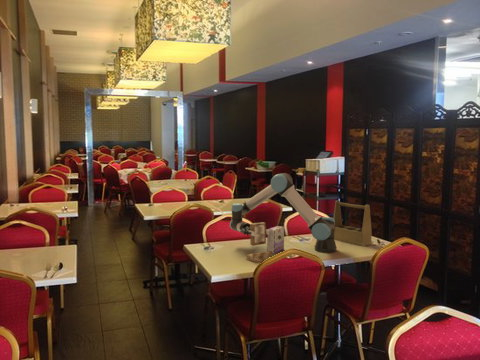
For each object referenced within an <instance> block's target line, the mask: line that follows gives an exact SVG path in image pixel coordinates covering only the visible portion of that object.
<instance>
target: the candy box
mask: <svg viewBox="0 0 480 360" xmlns="http://www.w3.org/2000/svg"><path fill="white" fill-rule="evenodd" d="M266 230H269V234H266V248H267V249H266V252H269V251H272V255H274V254H275V255H276V254H277V253H279V252H281V251H284V250H285V227H284V226H278V225H276V226H274V227H270V228H268V229H267V228H266Z"/></svg>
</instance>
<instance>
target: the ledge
mask: <svg viewBox="0 0 480 360" xmlns="http://www.w3.org/2000/svg"><path fill="white" fill-rule="evenodd" d="M269 257H272V258H273V254H272V251H269V252H267V251H262V252H261V251H260V252H256V253H248V254H246V260H248V261H251V262H252V263H256V262H258V263H259V262H262V261H263V260H264V261H266V260H265V259H268V258H269Z"/></svg>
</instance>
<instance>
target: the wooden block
mask: <svg viewBox="0 0 480 360" xmlns="http://www.w3.org/2000/svg"><path fill="white" fill-rule="evenodd" d="M266 223H267V222H263V221H262V222H253V223H249V224H250V231H253V232H255V236H252V235H249V236H250V239H249V240H250V242H249V243H250V244H249V245H250V246H253V247H254V246H260V245H267V234H266V230H267V224H266Z"/></svg>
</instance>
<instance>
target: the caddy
mask: <svg viewBox="0 0 480 360" xmlns="http://www.w3.org/2000/svg"><path fill="white" fill-rule="evenodd" d="M342 207H345V208H353V209H360V210H364V211H363V218H362V225H361V226H362V227H361V228H359V227H358V228H357V227H353V226H347V225H344V224H343V218H342V209H341V208H342ZM332 218H334V220H335V228H334V240H335V241H340V242H344V243H348V244H351V245H356V246H361V247H365V246H369V245H372V231H373V230H372V221H371V220H372V219H371V208H370V204H365V205H361V204H354V203H353V204H352V203H347V202H341V201H340V200H335V204H334V211H333V217H332Z"/></svg>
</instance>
